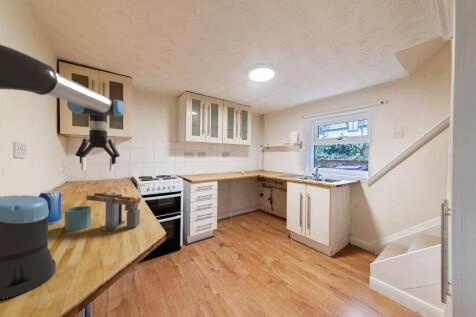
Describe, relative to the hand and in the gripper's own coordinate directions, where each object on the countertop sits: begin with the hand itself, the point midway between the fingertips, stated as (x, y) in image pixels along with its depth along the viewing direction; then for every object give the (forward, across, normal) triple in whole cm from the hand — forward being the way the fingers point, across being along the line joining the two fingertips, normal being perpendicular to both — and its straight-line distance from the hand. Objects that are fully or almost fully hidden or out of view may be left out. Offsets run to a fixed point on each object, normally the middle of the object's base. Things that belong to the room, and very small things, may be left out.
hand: (97, 170), depth 99 cm
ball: (+13, -22, +10) cm, 27 cm away
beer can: (+27, +21, +2) cm, 34 cm away
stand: (+27, -13, +10) cm, 32 cm away
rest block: (+27, -22, +10) cm, 36 cm away
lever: (+18, -13, +5) cm, 22 cm away
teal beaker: (+27, +3, +9) cm, 29 cm away
